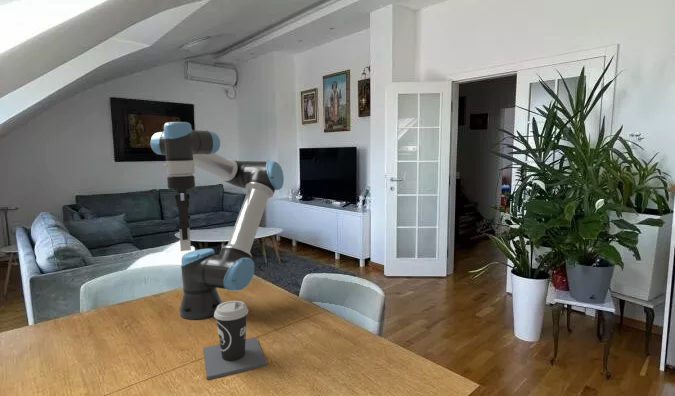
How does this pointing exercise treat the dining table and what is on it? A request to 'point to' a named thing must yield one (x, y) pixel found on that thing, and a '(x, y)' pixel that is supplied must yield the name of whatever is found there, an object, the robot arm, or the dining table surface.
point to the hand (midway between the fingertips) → (185, 245)
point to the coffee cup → (232, 329)
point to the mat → (222, 367)
